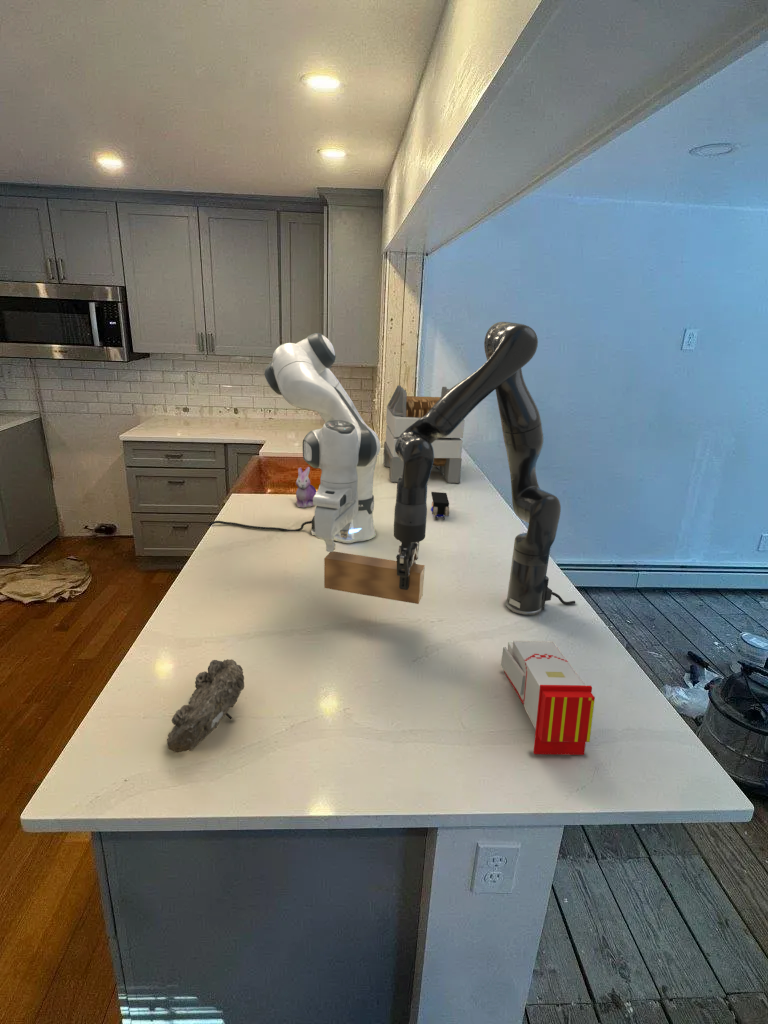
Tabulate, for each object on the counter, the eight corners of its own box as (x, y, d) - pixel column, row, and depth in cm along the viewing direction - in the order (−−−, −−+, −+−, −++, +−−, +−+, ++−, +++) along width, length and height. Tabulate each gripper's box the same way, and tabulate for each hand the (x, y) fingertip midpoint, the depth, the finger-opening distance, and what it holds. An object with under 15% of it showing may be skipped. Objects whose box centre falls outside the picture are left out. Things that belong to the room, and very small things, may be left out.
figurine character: (449, 525, 213) (445, 507, 227) (451, 507, 210) (447, 490, 224) (431, 524, 213) (428, 507, 227) (433, 506, 210) (430, 490, 223)
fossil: (192, 660, 117) (244, 628, 112) (224, 691, 120) (276, 661, 115) (142, 746, 98) (202, 712, 93) (182, 779, 101) (242, 748, 96)
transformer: (382, 463, 289) (386, 382, 275) (445, 464, 293) (451, 384, 279) (390, 482, 257) (394, 392, 243) (460, 483, 261) (468, 394, 247)
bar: (324, 588, 142) (324, 558, 139) (331, 580, 147) (331, 550, 144) (418, 604, 136) (420, 573, 133) (422, 595, 141) (424, 565, 138)
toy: (549, 624, 127) (604, 693, 98) (544, 678, 130) (596, 762, 100) (496, 622, 127) (535, 692, 97) (491, 677, 129) (528, 761, 100)
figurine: (299, 509, 219) (299, 472, 214) (290, 501, 227) (290, 465, 222) (322, 506, 223) (322, 469, 218) (313, 498, 231) (313, 463, 226)
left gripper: (342, 477, 145) (340, 527, 150) (309, 500, 127) (309, 557, 131) (365, 480, 144) (363, 531, 148) (335, 504, 125) (334, 561, 130)
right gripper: (419, 531, 125) (414, 600, 131) (432, 511, 138) (427, 574, 144) (386, 527, 127) (383, 594, 133) (402, 507, 140) (399, 569, 146)
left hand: (337, 543), depth 140 cm, fingers open, 8 cm apart
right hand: (406, 583), depth 138 cm, fingers closed on bar, 4 cm apart
